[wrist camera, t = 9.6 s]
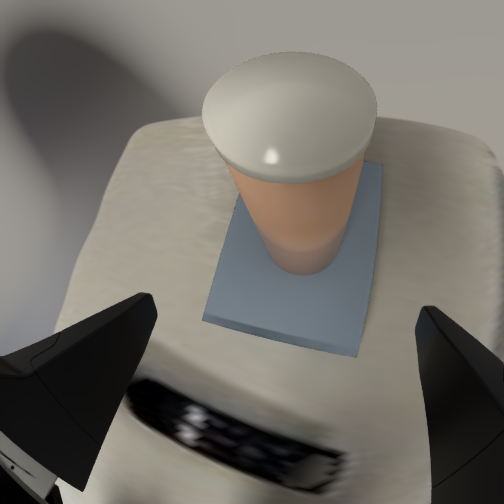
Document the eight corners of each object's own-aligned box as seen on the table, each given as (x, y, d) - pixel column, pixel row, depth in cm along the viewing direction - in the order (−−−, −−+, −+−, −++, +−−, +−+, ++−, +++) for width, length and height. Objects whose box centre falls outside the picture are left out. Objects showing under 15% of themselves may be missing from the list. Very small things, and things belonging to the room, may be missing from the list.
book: (350, 355, 19) (356, 357, 17) (215, 323, 22) (201, 320, 20) (376, 183, 23) (382, 164, 20) (260, 165, 26) (254, 146, 23)
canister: (307, 293, 19) (302, 203, 7) (248, 242, 21) (170, 116, 8) (357, 234, 19) (404, 92, 7) (298, 190, 21) (277, 39, 9)
